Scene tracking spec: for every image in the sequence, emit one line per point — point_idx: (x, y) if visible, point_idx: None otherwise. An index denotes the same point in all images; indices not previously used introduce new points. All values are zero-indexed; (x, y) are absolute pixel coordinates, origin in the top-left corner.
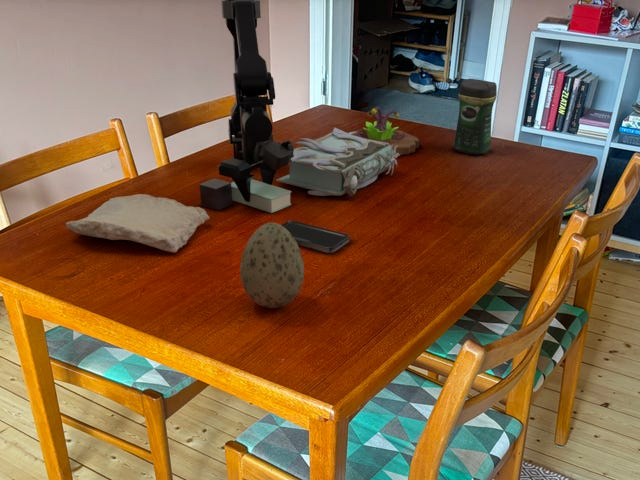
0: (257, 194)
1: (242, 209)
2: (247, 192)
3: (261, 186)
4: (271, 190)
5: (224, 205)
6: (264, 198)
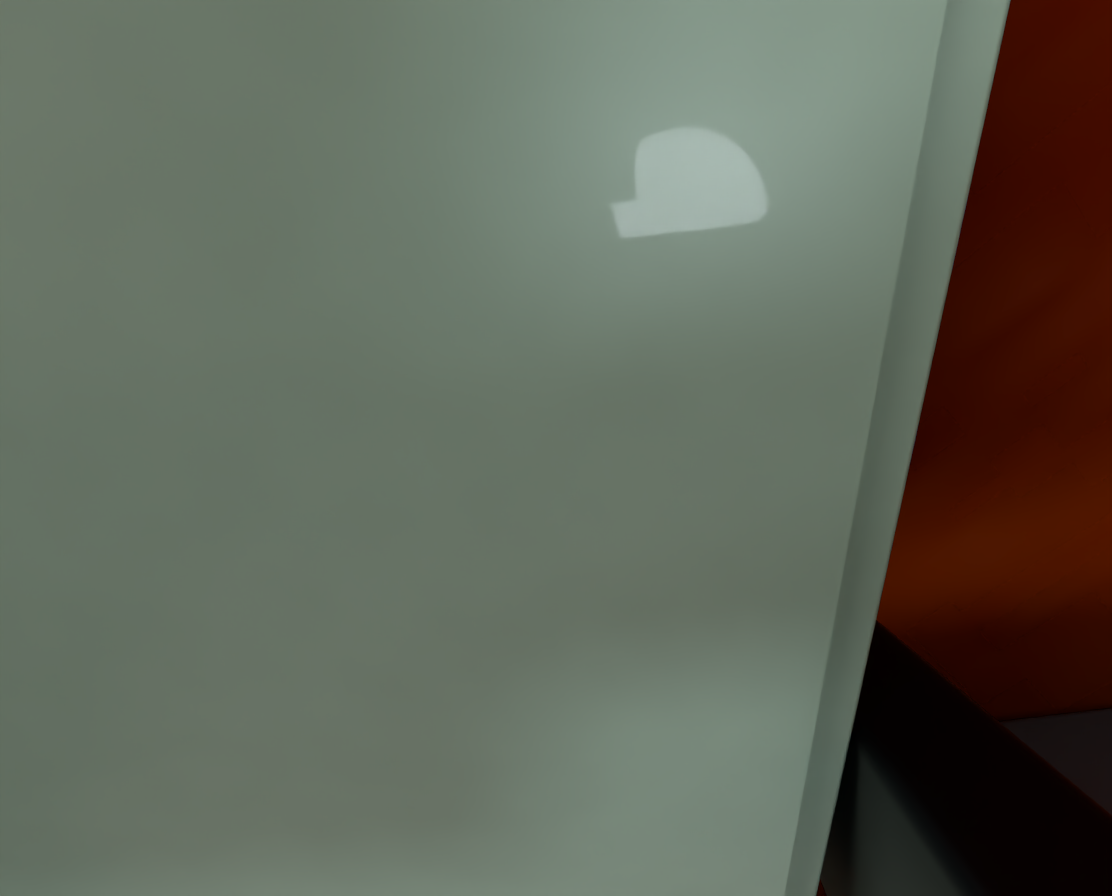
0: (843, 524)
1: (978, 469)
2: (1054, 771)
3: (172, 878)
4: (66, 478)
5: (1097, 746)
6: (982, 34)
